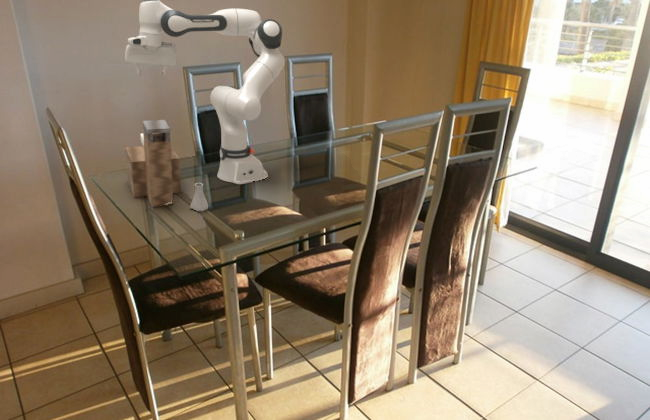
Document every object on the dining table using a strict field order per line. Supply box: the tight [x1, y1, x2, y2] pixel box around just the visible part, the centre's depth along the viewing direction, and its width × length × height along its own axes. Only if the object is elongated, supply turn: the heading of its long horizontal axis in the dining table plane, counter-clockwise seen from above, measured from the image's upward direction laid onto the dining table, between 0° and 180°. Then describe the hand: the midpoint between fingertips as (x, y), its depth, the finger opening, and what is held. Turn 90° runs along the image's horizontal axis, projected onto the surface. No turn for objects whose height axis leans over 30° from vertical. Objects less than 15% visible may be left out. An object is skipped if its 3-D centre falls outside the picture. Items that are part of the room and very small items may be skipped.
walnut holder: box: [125, 119, 181, 208], centre depth 202 cm, size 18×26×31 cm
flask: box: [189, 182, 209, 212], centre depth 198 cm, size 7×7×10 cm
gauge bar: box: [139, 132, 144, 146], centre depth 209 cm, size 4×22×3 cm, turn 27°
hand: (151, 75), depth 217 cm, fingers open, 8 cm apart
